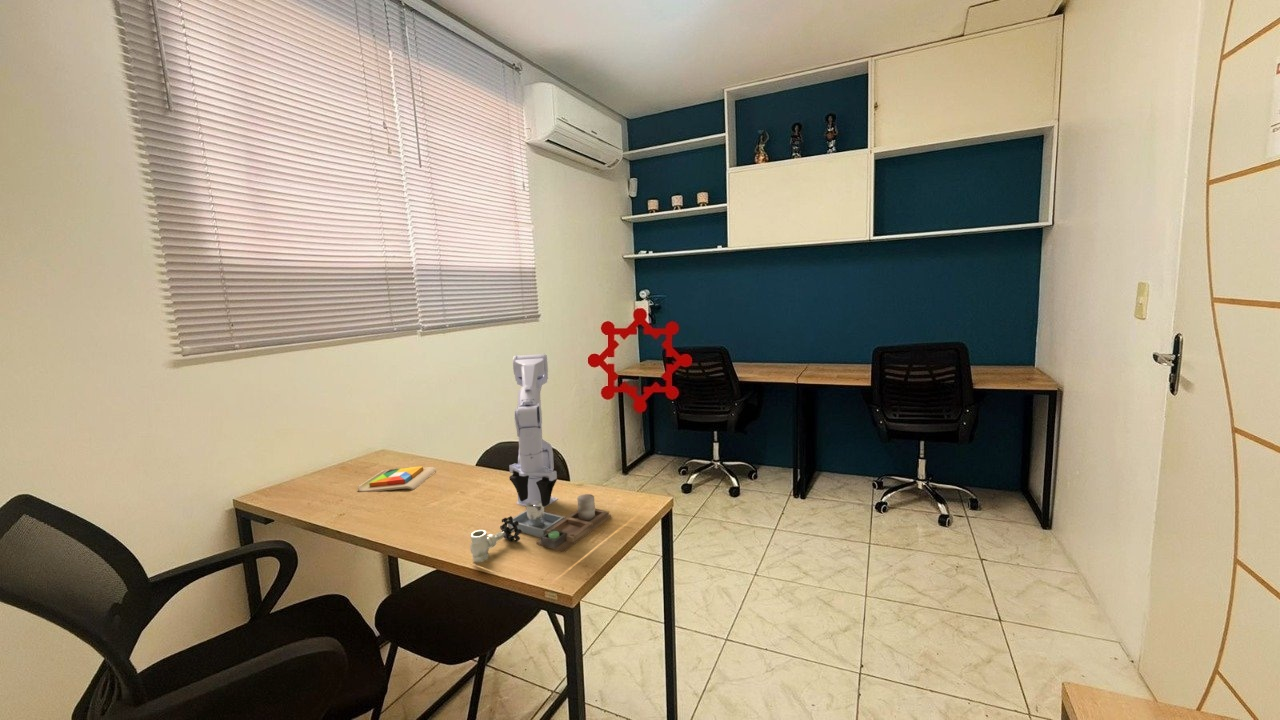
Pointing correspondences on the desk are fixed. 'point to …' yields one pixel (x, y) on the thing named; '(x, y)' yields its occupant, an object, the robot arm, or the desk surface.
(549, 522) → the tote
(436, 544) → the desk surface
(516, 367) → the robot arm
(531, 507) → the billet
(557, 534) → the button
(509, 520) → the valve
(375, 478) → the wooden puzzle
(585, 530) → the brown compartment tray
